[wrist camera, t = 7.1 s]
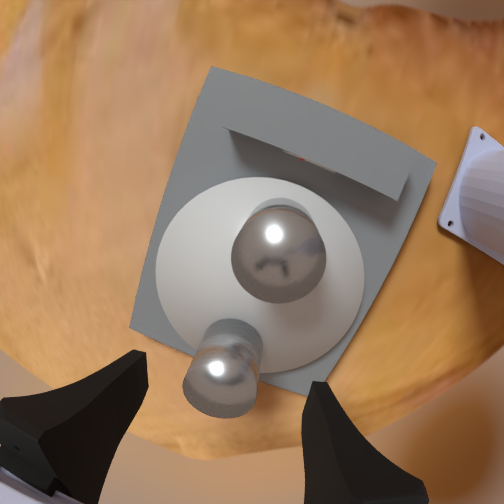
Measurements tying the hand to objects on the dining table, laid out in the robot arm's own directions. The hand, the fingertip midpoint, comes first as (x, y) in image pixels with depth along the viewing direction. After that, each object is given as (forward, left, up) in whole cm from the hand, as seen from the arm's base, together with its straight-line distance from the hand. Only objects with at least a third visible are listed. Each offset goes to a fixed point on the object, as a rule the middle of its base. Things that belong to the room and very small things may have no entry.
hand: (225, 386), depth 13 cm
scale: (0, -4, -10) cm, 11 cm away
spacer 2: (0, -5, -7) cm, 9 cm away
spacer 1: (0, +3, -7) cm, 8 cm away
